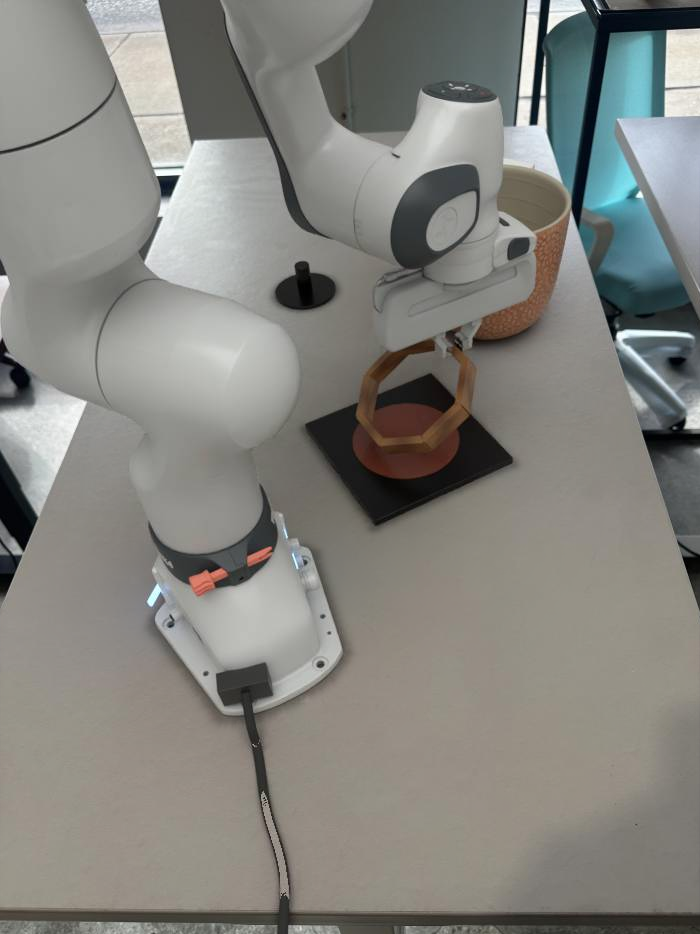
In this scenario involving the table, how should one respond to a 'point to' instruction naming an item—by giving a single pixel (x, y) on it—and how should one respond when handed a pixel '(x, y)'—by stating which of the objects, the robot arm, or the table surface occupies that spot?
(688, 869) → the table surface
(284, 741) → the table surface
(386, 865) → the table surface
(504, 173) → the planter
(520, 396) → the table surface
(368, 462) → the hob plate
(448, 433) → the hoop
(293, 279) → the peg stand
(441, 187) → the robot arm
